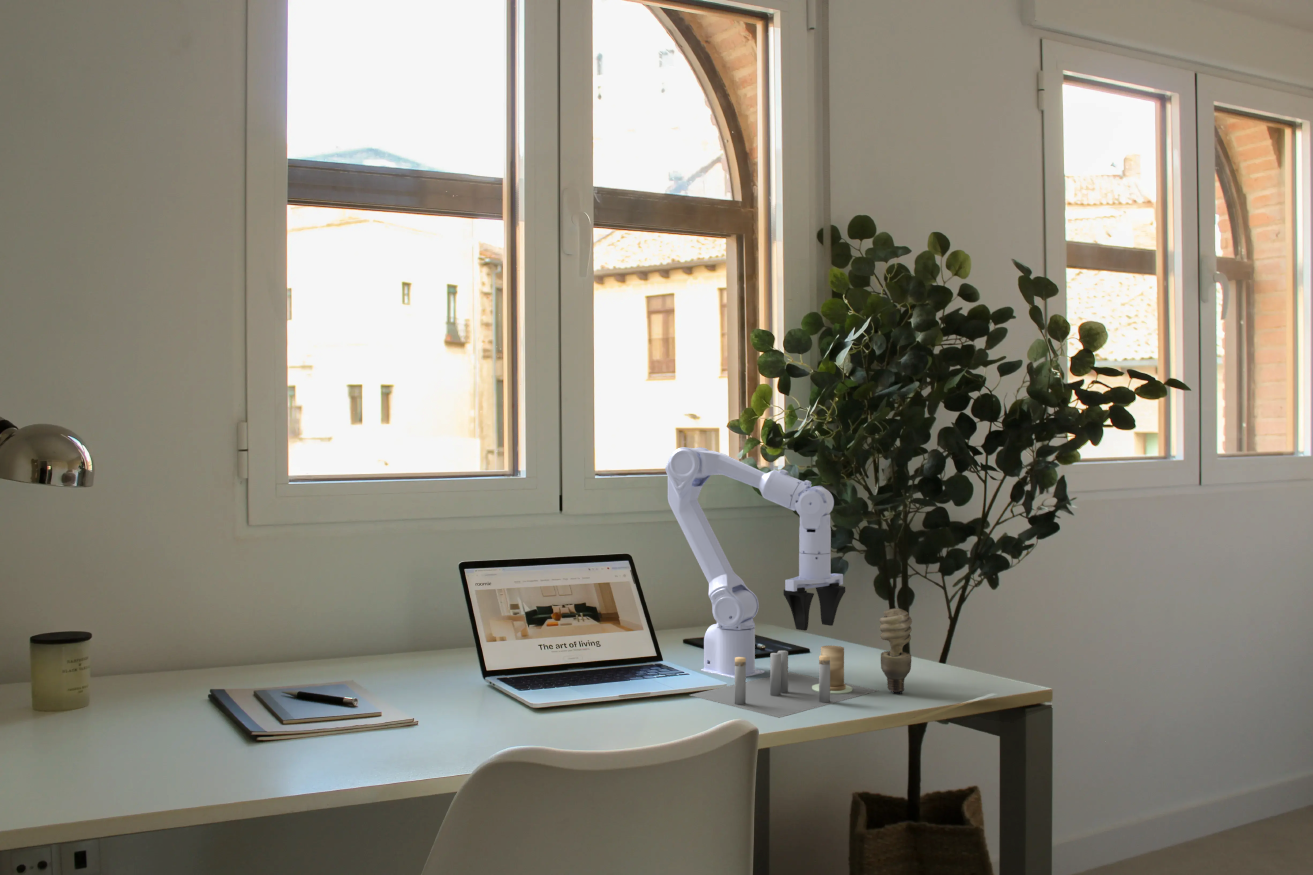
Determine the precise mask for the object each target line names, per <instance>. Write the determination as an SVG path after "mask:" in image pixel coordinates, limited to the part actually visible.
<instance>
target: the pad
mask: <svg viewBox="0 0 1313 875" xmlns="http://www.w3.org/2000/svg"><path fill="white" fill-rule="evenodd" d="M812 690H813V691H816V692H819V684H816V685H813V686H812ZM850 692H852V687H850V686H847V685H846V689H845V690H841V691H830V694H846V693H850Z"/></svg>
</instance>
